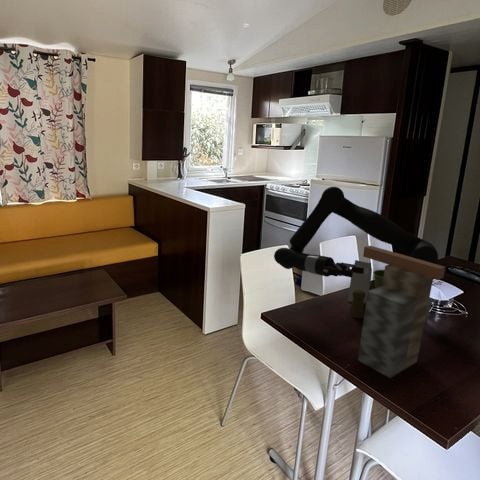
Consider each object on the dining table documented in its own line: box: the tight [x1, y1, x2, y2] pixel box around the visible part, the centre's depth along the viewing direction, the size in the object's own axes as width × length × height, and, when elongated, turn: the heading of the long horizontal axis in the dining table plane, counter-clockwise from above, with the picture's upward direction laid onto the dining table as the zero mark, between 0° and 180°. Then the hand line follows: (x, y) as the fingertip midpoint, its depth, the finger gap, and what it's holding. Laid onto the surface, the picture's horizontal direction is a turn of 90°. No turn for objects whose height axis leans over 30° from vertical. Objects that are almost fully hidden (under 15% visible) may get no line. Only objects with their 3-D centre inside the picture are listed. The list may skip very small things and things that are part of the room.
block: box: [362, 245, 446, 281], centre depth 124 cm, size 26×4×4 cm, turn 38°
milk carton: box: [347, 259, 373, 305], centre depth 173 cm, size 7×7×19 cm
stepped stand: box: [357, 264, 434, 379], centre depth 124 cm, size 12×16×32 cm
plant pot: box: [372, 269, 385, 288], centre depth 181 cm, size 12×12×11 cm
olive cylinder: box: [348, 290, 365, 319], centre depth 160 cm, size 6×6×11 cm
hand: (358, 272), depth 137 cm, fingers open, 8 cm apart
